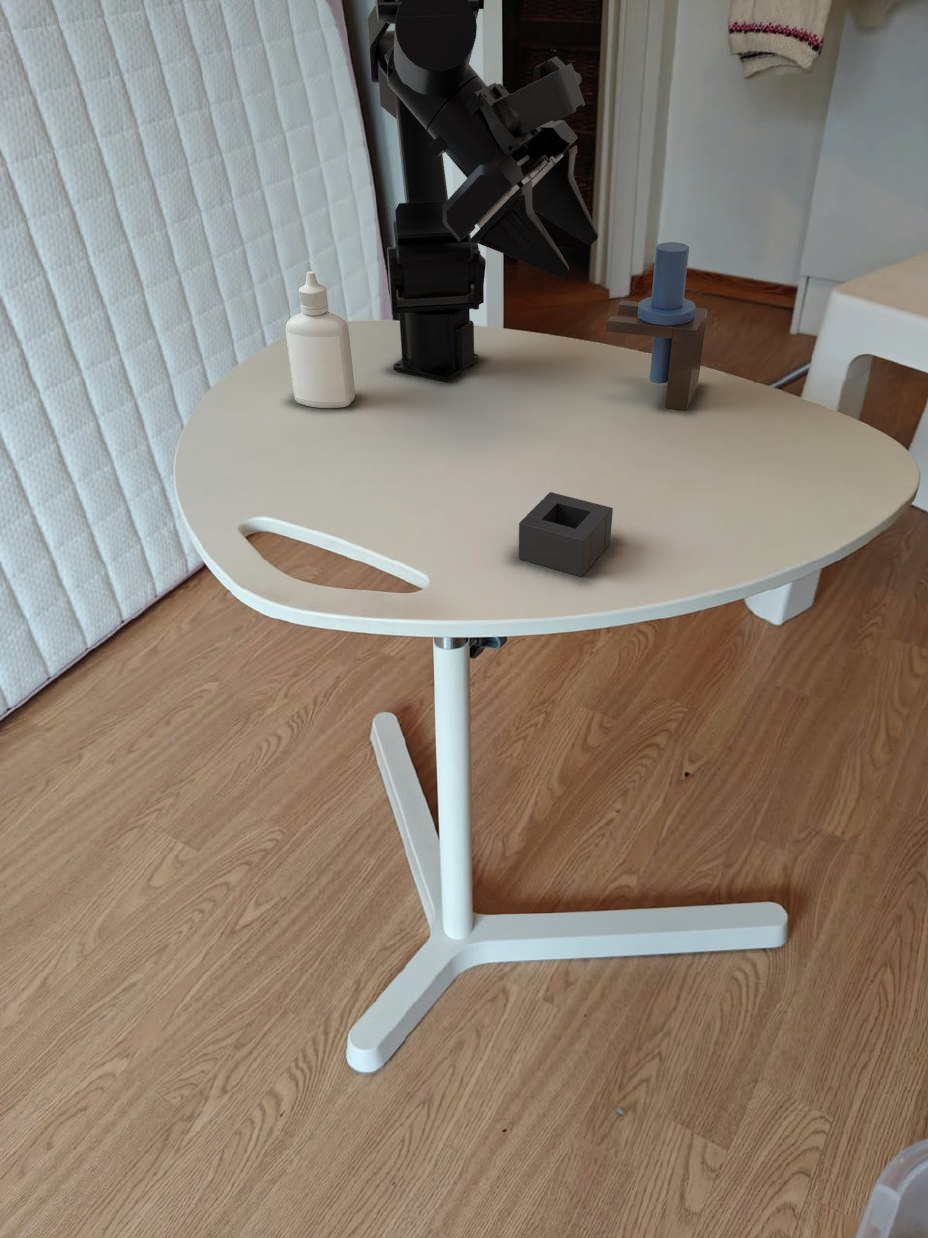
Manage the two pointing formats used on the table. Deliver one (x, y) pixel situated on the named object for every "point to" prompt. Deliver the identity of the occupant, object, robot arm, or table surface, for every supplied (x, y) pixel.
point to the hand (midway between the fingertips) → (580, 256)
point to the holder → (565, 533)
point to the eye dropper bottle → (319, 351)
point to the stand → (682, 349)
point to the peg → (667, 303)
